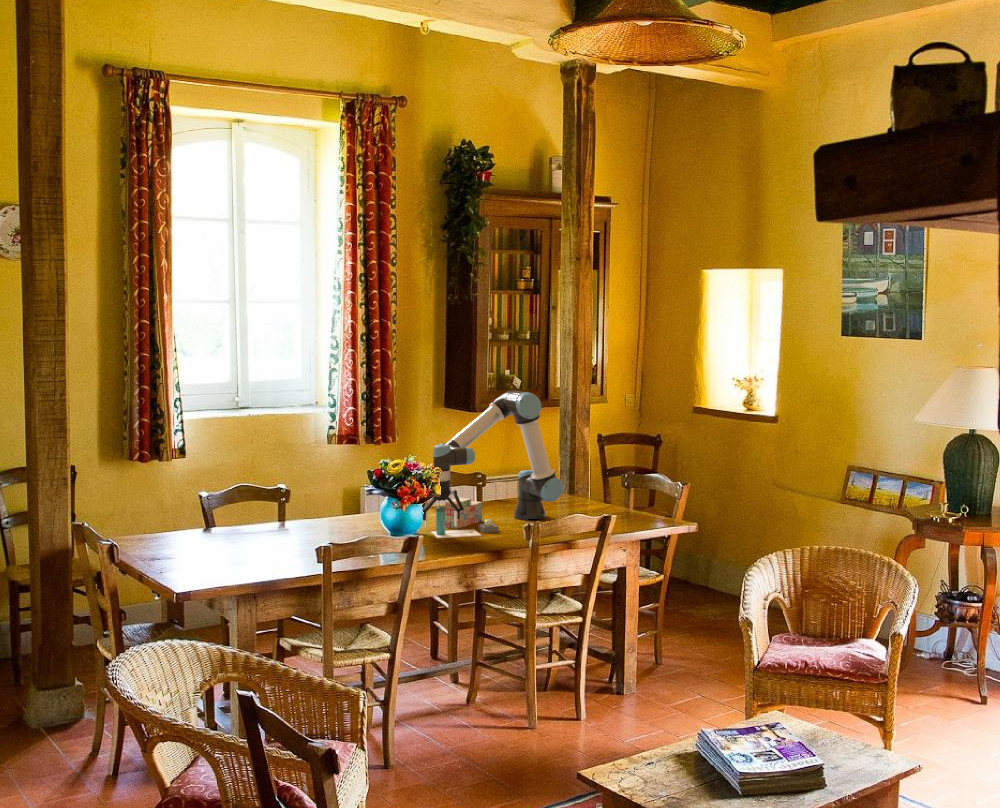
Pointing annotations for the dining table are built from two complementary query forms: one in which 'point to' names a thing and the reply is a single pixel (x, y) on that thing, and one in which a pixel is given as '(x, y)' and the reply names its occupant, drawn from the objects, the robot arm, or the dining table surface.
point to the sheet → (457, 533)
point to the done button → (488, 522)
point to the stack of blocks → (463, 513)
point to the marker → (440, 520)
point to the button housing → (488, 528)
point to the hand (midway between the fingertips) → (441, 526)
